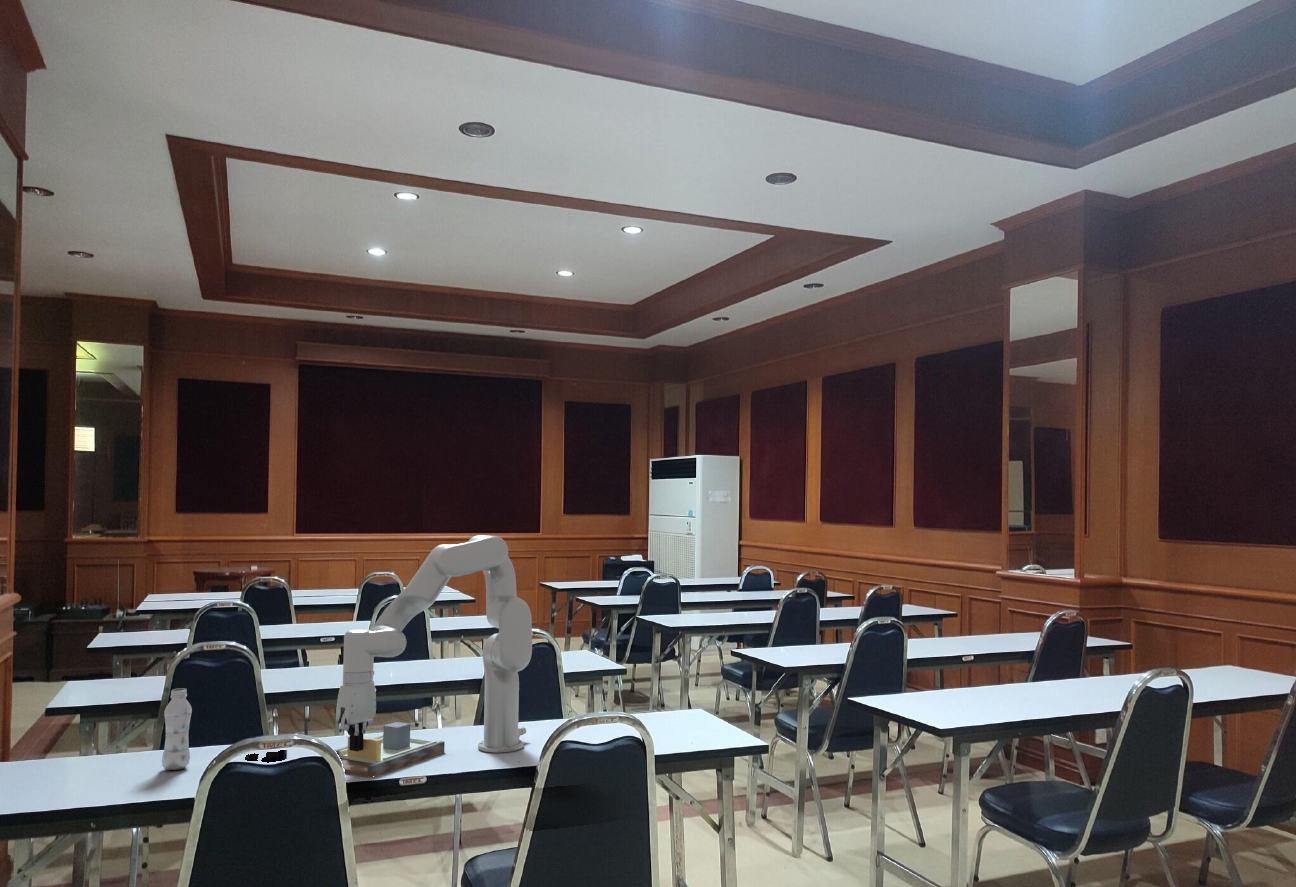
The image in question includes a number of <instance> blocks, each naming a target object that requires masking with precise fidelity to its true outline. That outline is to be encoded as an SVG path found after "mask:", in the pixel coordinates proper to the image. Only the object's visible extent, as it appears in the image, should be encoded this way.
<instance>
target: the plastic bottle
mask: <svg viewBox="0 0 1296 887" xmlns="http://www.w3.org/2000/svg"><path fill="white" fill-rule="evenodd" d="M187 697H188V693H187V688H183V687H182V688H181V687H180V688H174V689H172V690H171V691H170V699H171V700H170V701H169V703H168V704H167V705H166V707H165V709H164V711H163V712H164V723H165V742H164V749H163V750H164V751H163V752H162V759H161V764H162V765H161V766H162V767H163V770H167V771H177V770H182V769H185V768H186V767H188V765H189V763H190V761H191V751H190V746H189V742H190V740H189V733H190V732H189V730H190V723H191V717H192V712H193V708H192V705H191V703H190V702H189V701H188V700H187Z"/></svg>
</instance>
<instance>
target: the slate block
mask: <svg viewBox="0 0 1296 887" xmlns="http://www.w3.org/2000/svg"><path fill="white" fill-rule="evenodd" d="M382 734H383V735H382V736H383V748H385V749H391V750H400V749H403V748H406V747H409V746H410V737H411V723H407V722H401V721H400V722H398V721H395V722H392V723H388V724H384V725H383V730H382Z"/></svg>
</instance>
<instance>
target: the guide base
mask: <svg viewBox="0 0 1296 887" xmlns="http://www.w3.org/2000/svg"><path fill="white" fill-rule="evenodd" d="M380 738H383V735H381V736H377V737H374V738H373V739H380ZM347 748H348V745H347V746H343V747H340V748H337V749H334V750H335V751H336V752H337V754H338V755H339V751H340V750H344V749H347ZM445 748H446V746H445V741H443V740H440V741H438V742H437V743H434V744H431V745H428V746H425V747H422V748H419V749H416V750H413V751H410V752H407V753H404V754H401V755H398V756H395V757H392V758H389V759H386V760H383V761H380V762H377V763H374V764H373V763H367V762H361V761H355V760H348V759H342V758H340V759H341V761H342V764H343V768H344V769H345V773H344V774H346V775H347V774H348V775H351V776H359V777H364V778H369V777H370V778H371V777H372V778H374V777H373V776H375V777H378V776H381V775H383V774H386V773H389V772H392V771H395V770H397V769H400V768H403V767H406V766H409V765H411V764H414V763H417V762H420V761H423V760H425V759H428V758H431V757H434V756H436V755H440V754H443V753H445ZM380 774H381V775H380ZM377 775H378V776H377ZM372 778H371V779H372Z"/></svg>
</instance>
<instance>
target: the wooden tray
mask: <svg viewBox="0 0 1296 887" xmlns="http://www.w3.org/2000/svg"><path fill="white" fill-rule="evenodd" d="M434 743H437V740H431V739H430V740H429V739H424V738H423V739H422V738H418V737H411V736H410V746H409V747H406V748H403V749H400V750H391V749H385V748H383V738H380V739H373V738H372V737H365V736H363V750H361V751H351V750H350V749H349V744H350V735H348V736H347V746H348V748H347V749H344V750H340V751H339V757H340V758H342V759H348V760H355V761H361V762H367V763H373V764H374V763H377V762H380V761H383V760H386V759H389V758H392V757H395V756H398V755H401V754H404V753H407V752H410V751H413V750H416V749H419V748H422V747H425V746H428V745H431V744H434Z"/></svg>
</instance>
